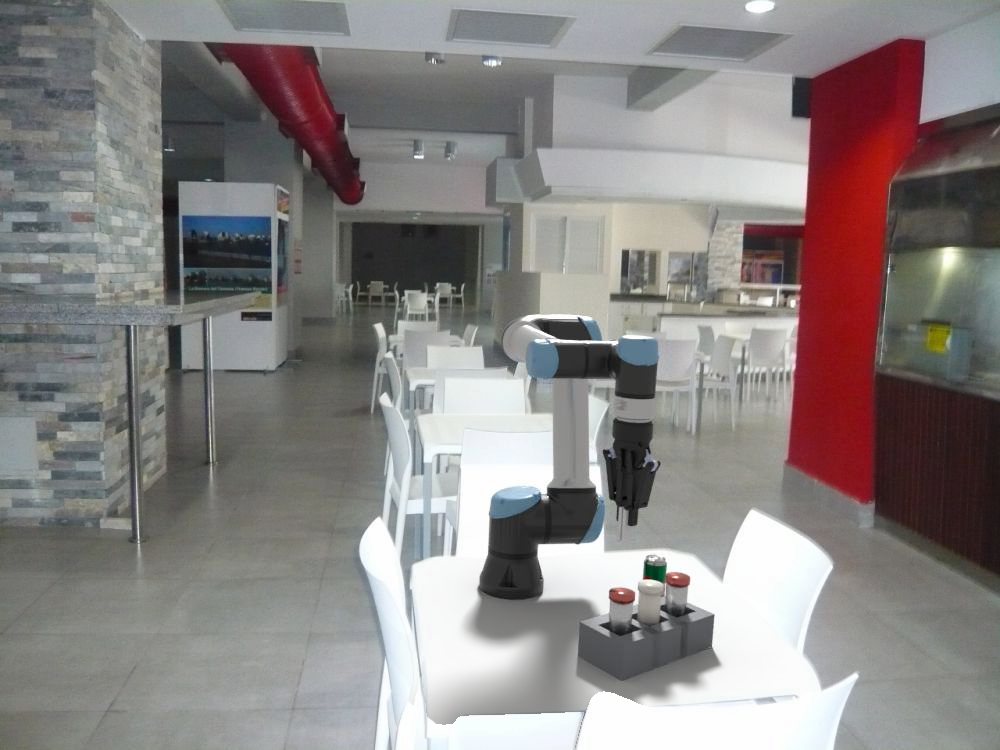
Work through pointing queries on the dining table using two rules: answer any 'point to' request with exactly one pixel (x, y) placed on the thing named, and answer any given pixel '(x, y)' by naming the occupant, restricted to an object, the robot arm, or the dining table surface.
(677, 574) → the clear jar
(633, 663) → the gray vial holder
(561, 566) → the dining table surface
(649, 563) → the soda can
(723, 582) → the dining table surface
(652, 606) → the white capped bottle
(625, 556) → the dining table surface
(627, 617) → the red-capped vial
